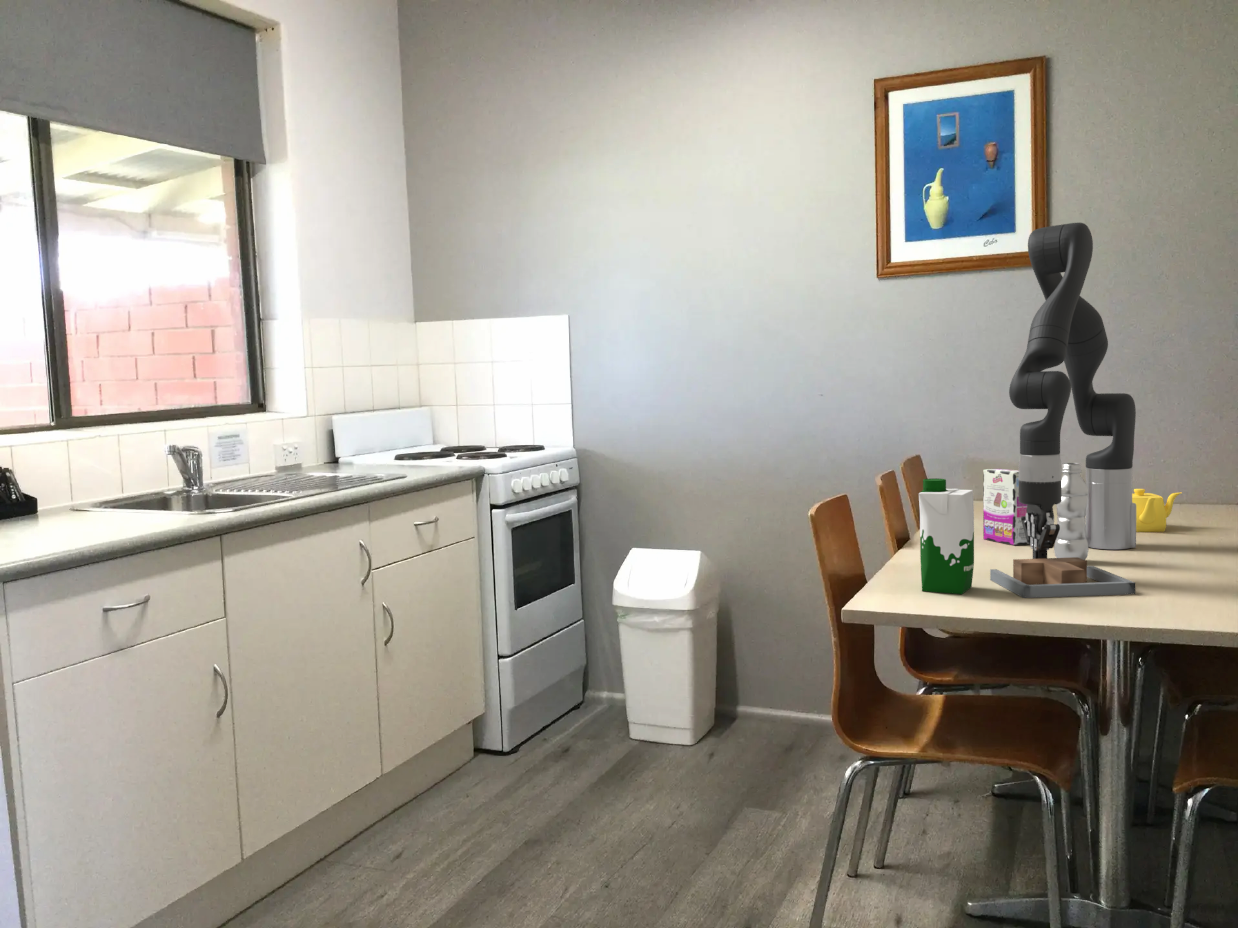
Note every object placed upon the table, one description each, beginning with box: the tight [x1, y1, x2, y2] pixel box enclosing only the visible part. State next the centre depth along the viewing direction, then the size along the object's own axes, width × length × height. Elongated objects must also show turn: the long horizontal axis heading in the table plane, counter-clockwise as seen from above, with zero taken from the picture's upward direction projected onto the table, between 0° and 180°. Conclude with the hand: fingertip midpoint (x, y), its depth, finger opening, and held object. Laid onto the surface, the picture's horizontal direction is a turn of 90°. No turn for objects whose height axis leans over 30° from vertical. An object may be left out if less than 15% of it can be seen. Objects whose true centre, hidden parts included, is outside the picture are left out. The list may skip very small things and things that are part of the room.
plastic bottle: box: [1053, 462, 1090, 561], centre depth 214 cm, size 6×7×20 cm
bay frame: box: [989, 565, 1136, 599], centre depth 192 cm, size 19×16×2 cm
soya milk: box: [918, 478, 975, 595], centre depth 192 cm, size 9×9×20 cm
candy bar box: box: [982, 468, 1029, 546], centre depth 241 cm, size 11×5×16 cm, turn 18°
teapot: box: [1132, 488, 1183, 533], centre depth 253 cm, size 15×14×10 cm
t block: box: [1012, 557, 1088, 585], centre depth 192 cm, size 12×12×4 cm
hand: (1039, 569), depth 201 cm, fingers closed
